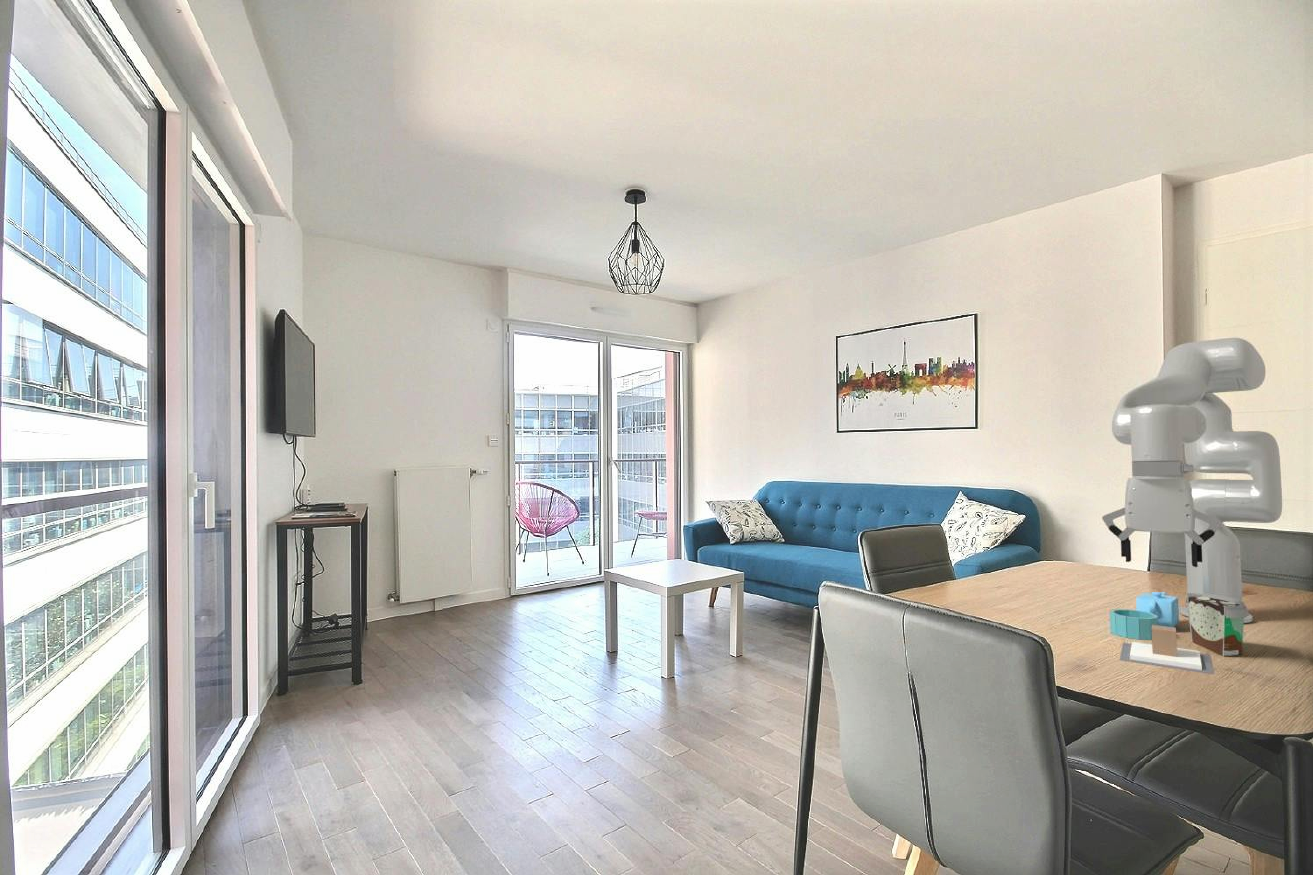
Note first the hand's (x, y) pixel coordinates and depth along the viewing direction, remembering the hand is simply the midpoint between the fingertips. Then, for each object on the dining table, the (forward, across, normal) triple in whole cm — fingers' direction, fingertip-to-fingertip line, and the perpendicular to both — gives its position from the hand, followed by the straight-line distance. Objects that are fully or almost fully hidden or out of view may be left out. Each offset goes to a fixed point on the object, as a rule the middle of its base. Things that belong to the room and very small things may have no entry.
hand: (1160, 563), depth 117 cm
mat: (+18, 0, 0) cm, 18 cm away
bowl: (+18, +5, -15) cm, 24 cm away
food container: (+18, -9, -12) cm, 24 cm away
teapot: (+18, +1, -28) cm, 34 cm away
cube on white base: (+17, 0, 0) cm, 17 cm away
